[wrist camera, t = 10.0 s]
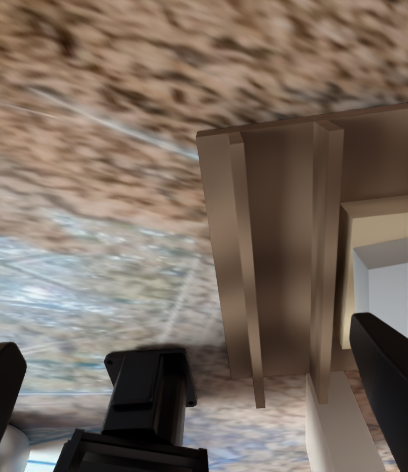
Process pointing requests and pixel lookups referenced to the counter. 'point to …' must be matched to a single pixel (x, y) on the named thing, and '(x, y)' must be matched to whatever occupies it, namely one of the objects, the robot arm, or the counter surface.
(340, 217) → the oak offcut
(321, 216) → the rack
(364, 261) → the grey offcut
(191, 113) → the counter surface
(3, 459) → the plastic bottle
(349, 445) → the panel
